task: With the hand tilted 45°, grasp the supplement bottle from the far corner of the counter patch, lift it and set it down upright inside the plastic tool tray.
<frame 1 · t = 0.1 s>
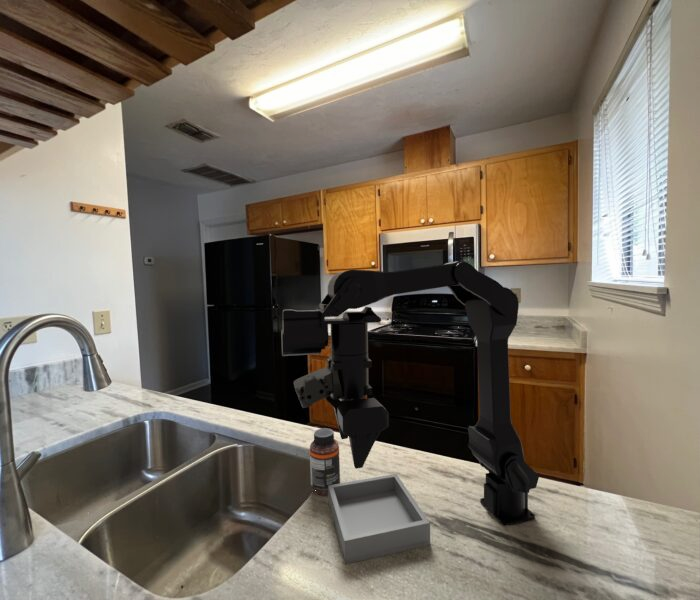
hand: (350, 451, 49), 15 cm above the countertop, tool pointing down, fingers open, 9 cm apart
tool tray: (374, 522, 54), on the countertop
supplement bottle: (325, 487, 64), on the countertop
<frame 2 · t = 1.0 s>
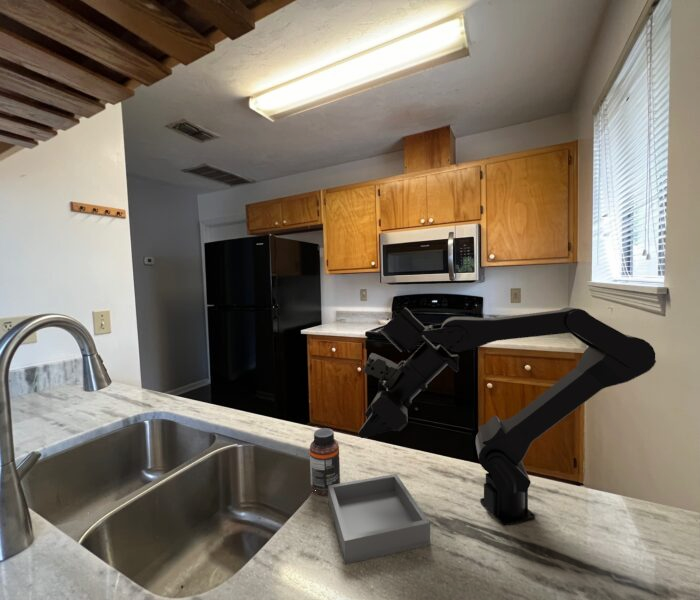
hand: (363, 425, 62), 13 cm above the countertop, tool tilted 45°, fingers open, 9 cm apart
nothing on the countertop moved.
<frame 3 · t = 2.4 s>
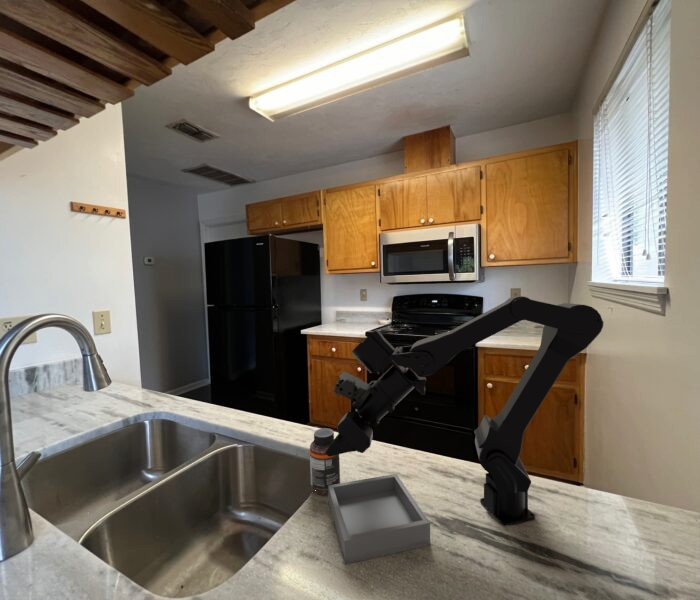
hand: (333, 442, 64), 9 cm above the countertop, tool tilted 45°, fingers open, 9 cm apart
nothing on the countertop moved.
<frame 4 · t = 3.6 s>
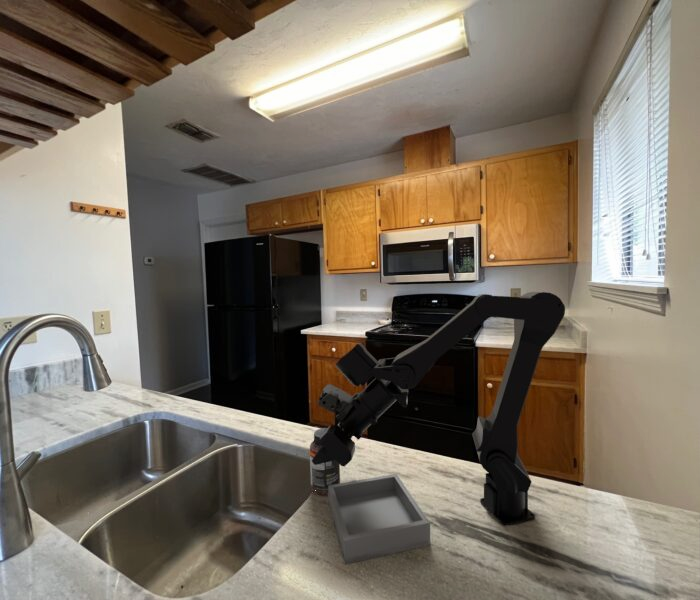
hand: (318, 454, 64), 7 cm above the countertop, tool tilted 45°, fingers closed on supplement bottle, 6 cm apart
supplement bottle: (325, 487, 64), on the countertop, touching gripper
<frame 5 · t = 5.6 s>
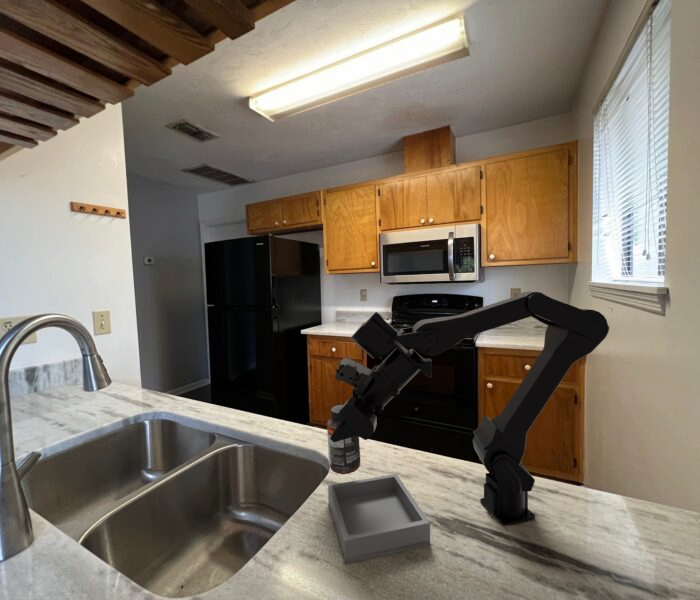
hand: (336, 432, 61), 13 cm above the countertop, tool tilted 45°, fingers closed on supplement bottle, 6 cm apart
supplement bottle: (345, 467, 60), point 6 cm above the countertop, touching gripper
when the fingers open (9 cm above the countertop, at t = 7.6 s): supplement bottle drops 1 cm, resting on tool tray.
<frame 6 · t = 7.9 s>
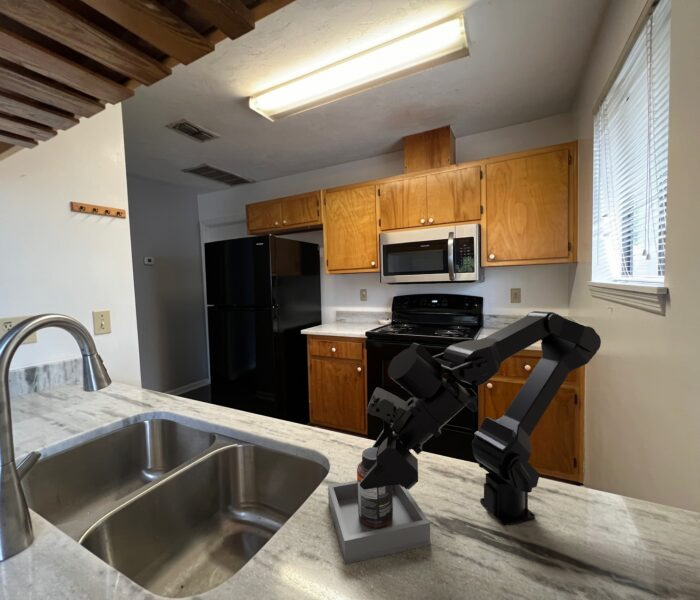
hand: (365, 470, 54), 9 cm above the countertop, tool tilted 45°, fingers open, 9 cm apart
supplement bottle: (375, 518, 54), point 1 cm above the countertop, touching tool tray
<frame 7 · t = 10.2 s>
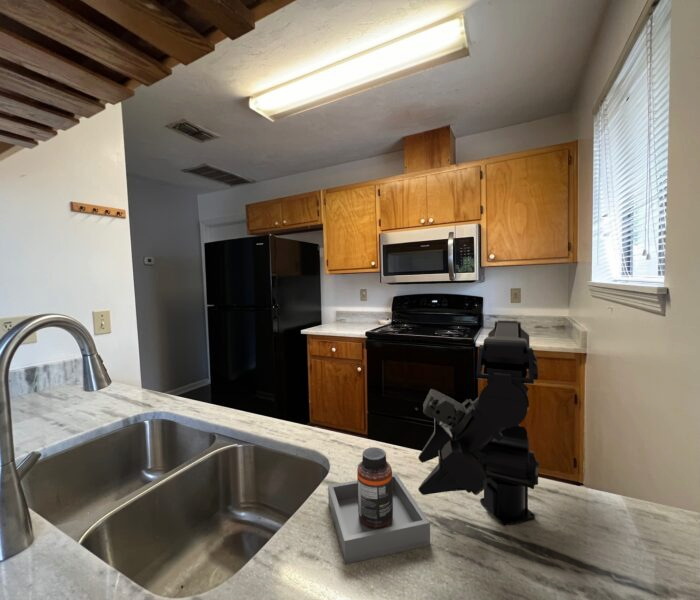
hand: (420, 474, 53), 9 cm above the countertop, tool tilted 45°, fingers open, 9 cm apart
nothing on the countertop moved.
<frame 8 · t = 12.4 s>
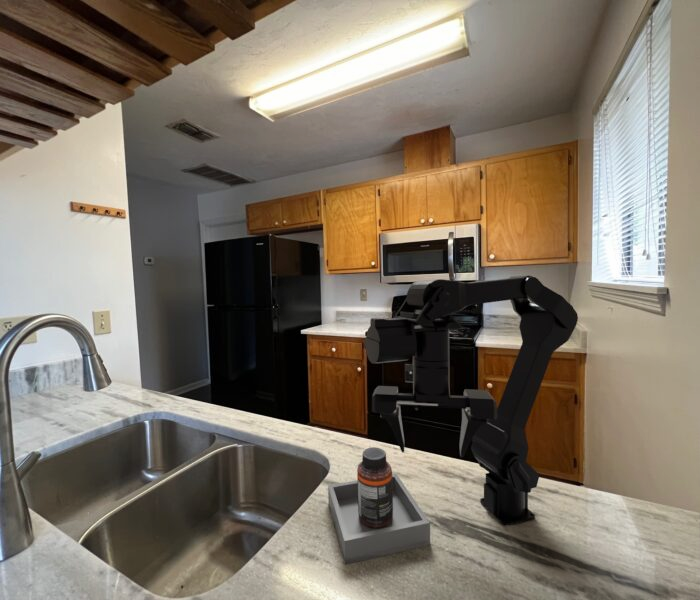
hand: (431, 453, 52), 13 cm above the countertop, tool pointing down, fingers open, 9 cm apart
nothing on the countertop moved.
at the end: supplement bottle inside the target area on the tool tray (0.2 cm from its centre), point 0.6 cm above the tool tray's base; supplement bottle tilted 0°; the gripper is holding nothing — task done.
